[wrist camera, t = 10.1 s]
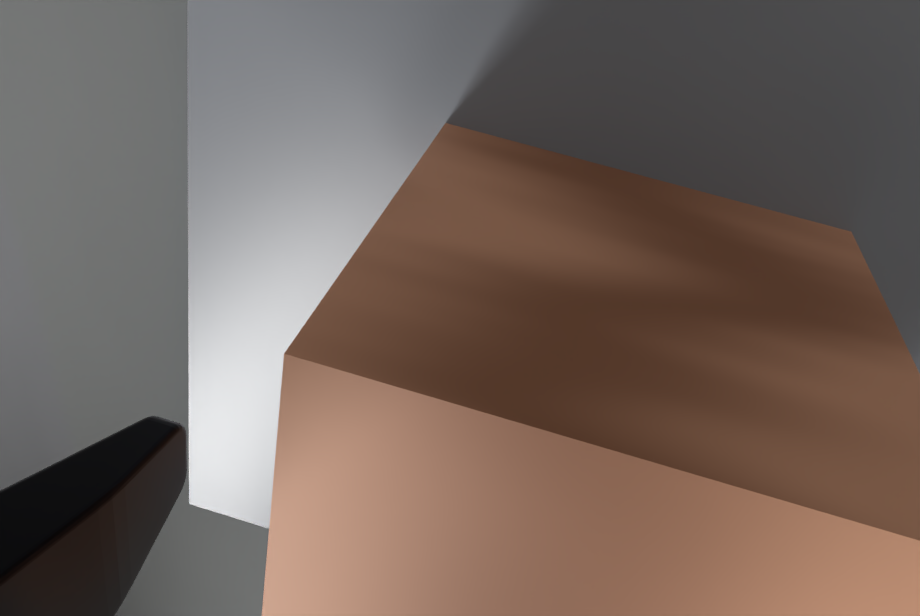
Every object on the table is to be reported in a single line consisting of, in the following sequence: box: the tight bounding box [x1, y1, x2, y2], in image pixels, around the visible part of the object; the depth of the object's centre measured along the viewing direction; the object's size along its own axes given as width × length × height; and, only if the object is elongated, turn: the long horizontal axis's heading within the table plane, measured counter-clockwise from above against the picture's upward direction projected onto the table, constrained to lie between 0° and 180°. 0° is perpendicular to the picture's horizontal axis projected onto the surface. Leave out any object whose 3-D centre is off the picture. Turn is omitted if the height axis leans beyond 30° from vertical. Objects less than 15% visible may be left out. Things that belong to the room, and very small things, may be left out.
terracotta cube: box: [262, 123, 920, 616], centre depth 10 cm, size 6×6×6 cm
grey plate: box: [187, 0, 920, 528], centre depth 13 cm, size 14×14×1 cm
